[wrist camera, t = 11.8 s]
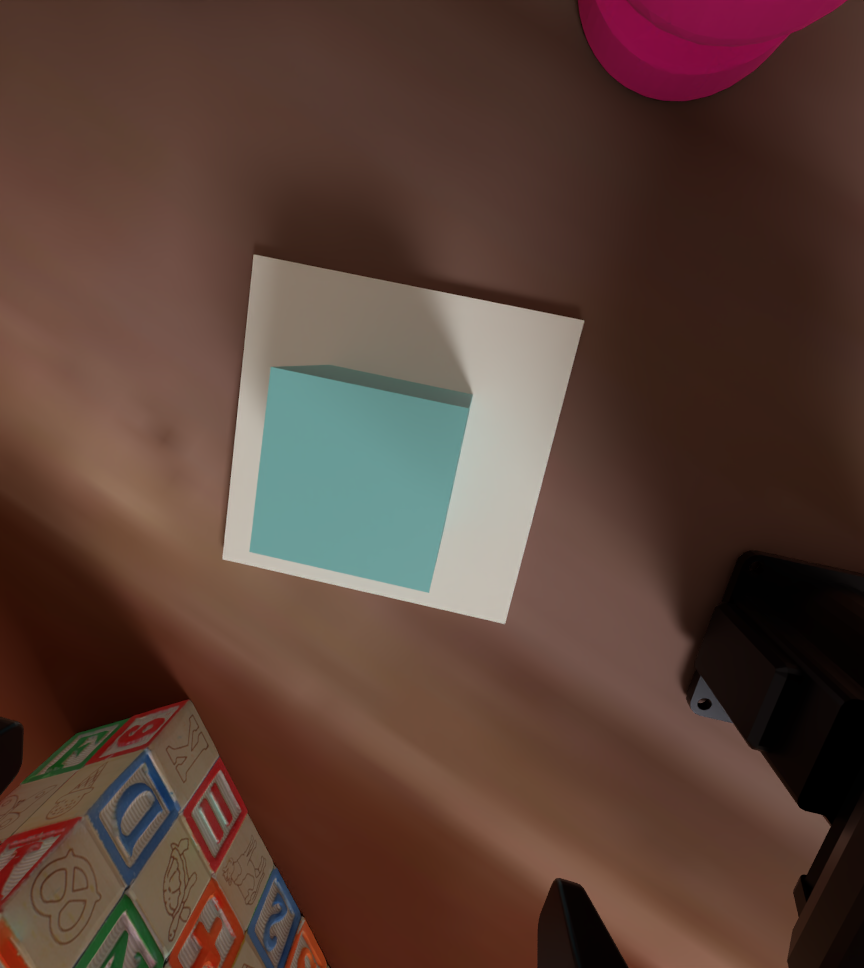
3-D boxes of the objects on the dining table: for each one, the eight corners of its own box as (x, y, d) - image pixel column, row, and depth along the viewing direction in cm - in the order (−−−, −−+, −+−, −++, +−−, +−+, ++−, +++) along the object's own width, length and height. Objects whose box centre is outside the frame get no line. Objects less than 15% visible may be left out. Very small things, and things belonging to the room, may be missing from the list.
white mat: (582, 321, 17) (584, 320, 16) (504, 618, 20) (505, 623, 19) (258, 256, 17) (253, 254, 17) (227, 555, 20) (222, 559, 20)
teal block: (473, 394, 17) (468, 408, 13) (443, 531, 19) (429, 592, 14) (329, 364, 18) (270, 366, 13) (309, 502, 19) (249, 552, 14)
